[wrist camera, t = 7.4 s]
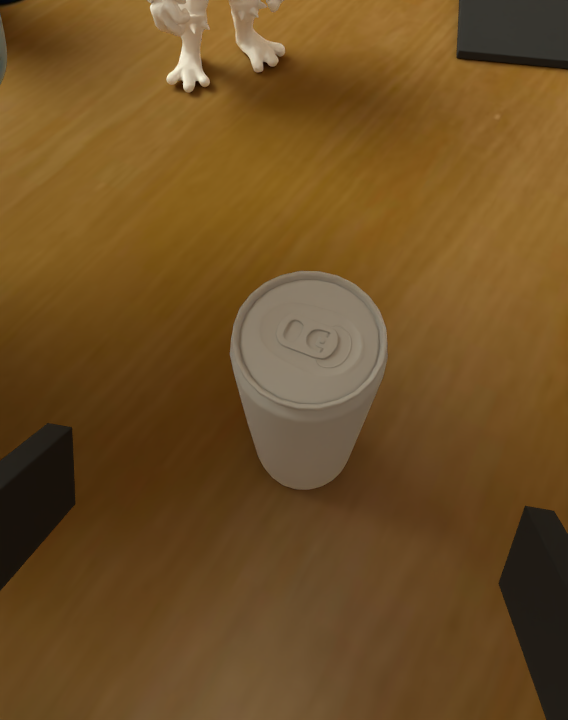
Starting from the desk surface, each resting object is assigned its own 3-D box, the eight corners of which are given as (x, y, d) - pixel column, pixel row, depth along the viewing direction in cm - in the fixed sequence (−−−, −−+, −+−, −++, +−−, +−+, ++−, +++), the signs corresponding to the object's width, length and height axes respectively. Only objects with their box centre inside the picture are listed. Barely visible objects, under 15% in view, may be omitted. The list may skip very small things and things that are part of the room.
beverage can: (328, 508, 24) (358, 441, 13) (239, 468, 25) (197, 374, 14) (363, 420, 26) (414, 298, 15) (278, 386, 27) (269, 246, 16)
